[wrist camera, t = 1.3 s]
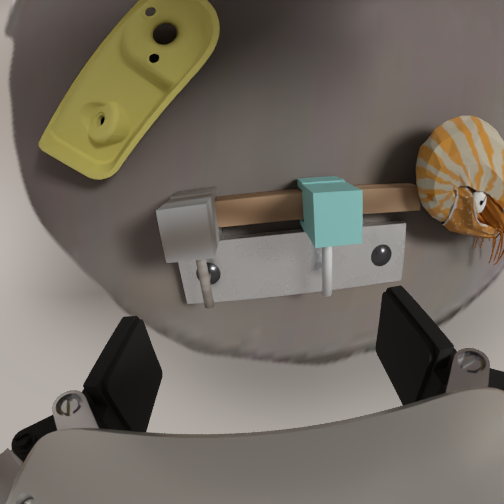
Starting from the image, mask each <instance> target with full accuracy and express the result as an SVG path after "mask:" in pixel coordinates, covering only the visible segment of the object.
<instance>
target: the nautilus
mask: <svg viewBox="0 0 504 504" xmlns="http://www.w3.org/2000/svg"><path fill="white" fill-rule="evenodd" d="M416 184H417V189H418V194H419V197H420V200H421V203H422V206H423V207H424V208H425V209H426V211H427V212H428V213H429V214H430V215H431V216H432V217H433V218H435V219H437V220H439V221H440V222H441V224H442V225H443V226H444V227H446V228H447V229H448V230H449V231H453V232H456V233H460V234H465V235H470V236H476V237H478V238H479V237H482V242H483V238H488V239H489V241H490V238H493V250H492V254H491V258H490V261H491V259H492V256H493V251H494V247H495V243H496V238H497V237H498V235H500V237H501V238H500V242H499V246H500V243H501V249H500V253H501V250H502V243H503V233H504V141H503V140H502V139H501V137H500V135H499V134H498V132H497V131H496V130H495V129H494V128H493V127H492V126H491V125H490V124H488V123H487V122H485V121H483V120H482V119H480V118H477V117H474V116H459V117H457V118H454V119H451V120H448V121H446V122H444V123H443V124H441V125H440V126H439V127H438V128H436V129H435V130H434V131H433V133H432V134H431V135H430V137H429V138H428V139H427V140H426V141H425V142H424V143H423V144H422V145H421V146H420V149H419V153H418V157H417V163H416ZM496 228H497V229H498V230H497V229H496ZM498 231H499V232H500V233H499V234H498V235H497V236H495V235H496V234H497V233H498ZM478 238H477V241H478ZM494 240H495V242H494ZM477 241H476V244H477ZM476 244H475V247H476ZM481 246H482V243H481ZM499 246H498V249H497V252H496V255H497V253H498V250H499ZM475 247H474V249H475ZM500 253H499V256H500ZM503 253H504V250H503V252H502V254H501V256H500V258H501V257H502V255H503ZM496 255H495V258H496ZM495 258H494V260H495ZM498 258H499V257H498ZM500 258H499V259H498V261H499V260H500ZM490 261H489V263H490ZM498 261H497V262H498ZM497 262H496V263H495V264H497ZM495 264H494V265H495Z"/></svg>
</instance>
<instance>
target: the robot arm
mask: <svg viewBox="0 0 504 504" xmlns="http://www.w3.org/2000/svg"><path fill="white" fill-rule="evenodd" d="M376 353H377V355H378V357H379V359H380V361H381V363H382V365H383V367H384V369H385V370H386V372H387V374H388V376H389V378H390V380H391V382H392V384H393V386H394V388H395V390H396V392H397V394H398V396H399V398H400V400H401V402H402V404H403V406H400V407H396V408H392V409H389V410H385V411H381V412H377V413H373V414H369V415H365V416H360V417H356V418H352V419H347V420H342V421H336V422H331V423H326V424H320V425H313V426H307V427H301V428H293V429H285V430H275V431H265V432H252V433H235V434H165V433H164V434H163V433H148V432H146V430H147V427H148V423H149V420H150V416H151V413H152V409H153V406H154V403H155V399H156V396H157V392H158V389H159V386H160V383H161V379H162V369H161V367H160V364H159V362H158V360H157V357H156V354H155V352H154V349H153V346H152V344H151V341H150V338H149V336H148V333H147V330H146V327H145V324H144V322H143V320H140V319H139V318H138V317H137V316H129V317H123V318H122V319H121V321H120V323H119V324H118V326H117V328H116V329H115V331H114V333H113V335H112V336H111V338H110V339H109V341H108V343H107V344H106V346H105V348H104V349H103V351H102V353H101V355H100V356H99V358H98V360H97V361H96V363H95V365H94V367H93V368H92V370H91V372H90V374H89V376H88V378H87V379H86V381H85V383H84V385H83V387H84V390H83V391H82V392H80V391H76V390H74V391H68V392H65V393H63V394H61V395H60V396H59V397H58V398H57V399H56V400H55V401H54V403H53V407H52V411H53V415H52V416H50V417H48V418H45V419H43V420H41V421H39V422H37V423H35V424H33V425H31V426H29V427H27V428H25V429H23V430H21V431H19V432H18V433H17V434H16V435H15V437H14V438H13V441H12V450H11V451H10V450H9V449H8V448H7V449H6V450H5V451H4V452H3V453H1V454H0V504H504V372H502V371H498V370H494V369H491V368H490V364H489V360H488V358H487V356H486V355H485V354H484V353H483V352H481V351H479V350H476V349H474V348H465V349H461V350H459V351H458V352H457V351H456V350H455V349H454V346H453V344H452V343H451V342H450V341H449V339H448V338H447V337H446V336H445V334H444V333H443V332H442V331H441V330H440V328H439V327H438V326H437V325H436V324H435V323H434V321H433V320H432V319H431V318H430V317H429V316H428V315H427V313H426V312H425V311H424V310H423V309H422V308H421V307H420V305H419V304H418V303H417V302H416V301H415V300H414V299H413V298H412V297H411V295H410V294H409V293H408V292H407V291H406V290H405V289H404V288H403V287H402V286H395V287H390V288H387V290H386V292H384V293H383V294H382V302H381V311H380V319H379V327H378V334H377V341H376Z"/></svg>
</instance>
